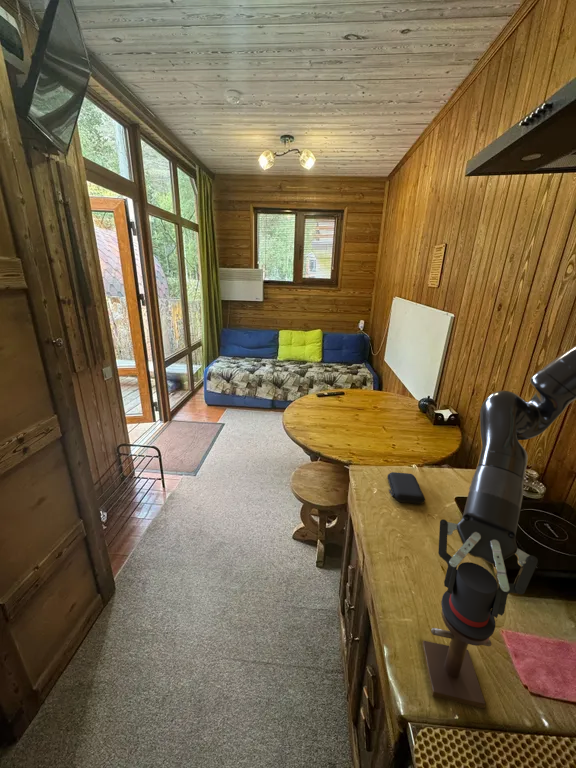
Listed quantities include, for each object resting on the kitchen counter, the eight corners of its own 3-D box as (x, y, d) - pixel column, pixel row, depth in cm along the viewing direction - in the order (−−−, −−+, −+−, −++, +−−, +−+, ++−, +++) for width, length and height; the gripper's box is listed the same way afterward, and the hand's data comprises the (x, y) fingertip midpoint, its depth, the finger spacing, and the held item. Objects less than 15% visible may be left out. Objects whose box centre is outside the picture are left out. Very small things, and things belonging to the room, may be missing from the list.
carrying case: (383, 476, 111) (390, 503, 97) (384, 469, 110) (391, 495, 96) (413, 479, 110) (425, 507, 96) (414, 471, 109) (427, 499, 95)
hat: (493, 606, 51) (505, 569, 49) (495, 650, 45) (508, 611, 43) (443, 584, 55) (451, 549, 53) (438, 621, 49) (447, 584, 46)
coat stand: (470, 654, 58) (487, 600, 53) (488, 709, 50) (509, 651, 46) (418, 643, 59) (429, 589, 55) (427, 695, 52) (442, 637, 47)
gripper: (448, 477, 54) (420, 578, 48) (553, 512, 46) (534, 638, 41) (448, 488, 60) (423, 579, 54) (541, 520, 52) (523, 631, 46)
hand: (471, 603), depth 47 cm, fingers closed on hat, 5 cm apart
